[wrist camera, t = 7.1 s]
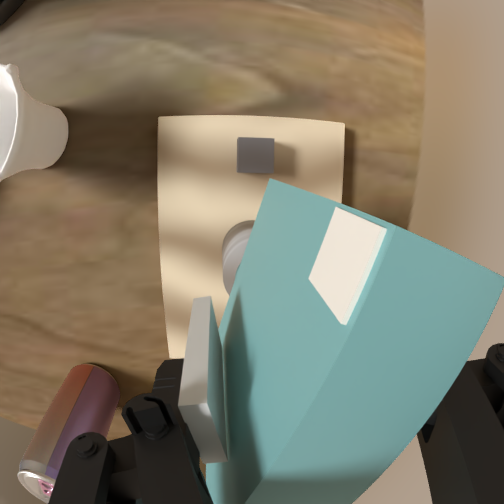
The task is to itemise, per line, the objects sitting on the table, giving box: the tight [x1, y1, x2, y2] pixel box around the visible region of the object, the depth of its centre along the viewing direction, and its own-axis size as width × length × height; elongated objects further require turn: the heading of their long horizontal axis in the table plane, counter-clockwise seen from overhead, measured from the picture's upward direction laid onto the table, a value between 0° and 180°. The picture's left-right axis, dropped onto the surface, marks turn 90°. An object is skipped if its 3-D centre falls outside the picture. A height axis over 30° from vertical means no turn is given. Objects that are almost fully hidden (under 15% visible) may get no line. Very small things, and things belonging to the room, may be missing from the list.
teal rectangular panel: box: [206, 178, 504, 504], centre depth 12 cm, size 3×11×13 cm, turn 161°
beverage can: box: [18, 364, 120, 504], centre depth 21 cm, size 6×6×15 cm
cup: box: [0, 64, 69, 182], centre depth 17 cm, size 9×9×10 cm
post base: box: [158, 115, 345, 358], centre depth 22 cm, size 20×14×8 cm
